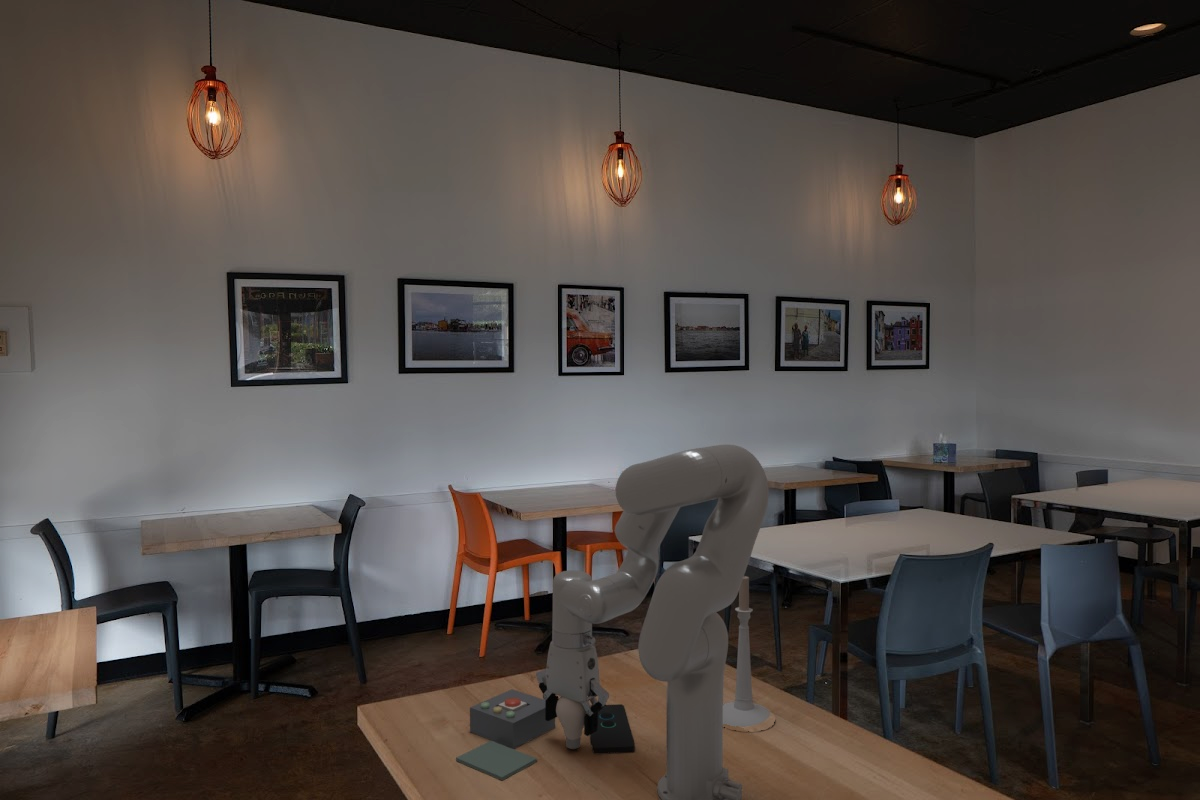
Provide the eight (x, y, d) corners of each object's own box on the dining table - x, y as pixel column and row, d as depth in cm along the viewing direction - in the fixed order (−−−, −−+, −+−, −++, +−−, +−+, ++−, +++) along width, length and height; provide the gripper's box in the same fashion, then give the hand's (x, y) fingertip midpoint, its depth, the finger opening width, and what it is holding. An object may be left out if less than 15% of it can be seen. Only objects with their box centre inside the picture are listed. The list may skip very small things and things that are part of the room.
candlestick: (699, 718, 172) (699, 574, 171) (739, 701, 181) (739, 564, 180) (748, 738, 163) (749, 586, 162) (788, 720, 171) (788, 575, 170)
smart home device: (624, 703, 177) (636, 745, 157) (624, 711, 177) (636, 754, 157) (585, 704, 176) (592, 747, 156) (585, 712, 176) (592, 756, 156)
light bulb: (586, 758, 155) (586, 700, 154) (552, 755, 156) (551, 697, 155) (593, 742, 161) (593, 686, 161) (560, 739, 162) (560, 684, 162)
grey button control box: (555, 727, 168) (555, 699, 168) (513, 748, 158) (513, 718, 158) (512, 712, 175) (512, 685, 175) (470, 732, 166) (469, 703, 166)
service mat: (536, 761, 153) (536, 758, 153) (502, 780, 146) (502, 777, 146) (491, 743, 161) (491, 740, 161) (456, 760, 154) (456, 757, 154)
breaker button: (526, 717, 167) (526, 700, 167) (512, 724, 164) (512, 706, 164) (512, 712, 170) (512, 695, 170) (498, 719, 167) (498, 701, 166)
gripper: (620, 642, 155) (619, 732, 156) (551, 623, 166) (550, 707, 167) (595, 653, 149) (594, 746, 150) (525, 632, 160) (524, 719, 161)
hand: (570, 725), depth 159 cm, fingers open, 9 cm apart
